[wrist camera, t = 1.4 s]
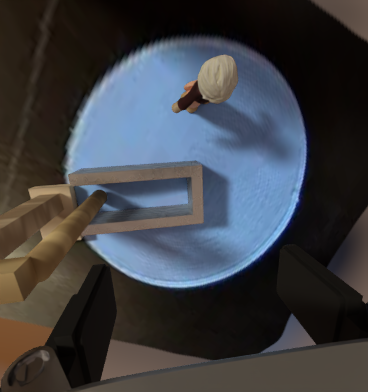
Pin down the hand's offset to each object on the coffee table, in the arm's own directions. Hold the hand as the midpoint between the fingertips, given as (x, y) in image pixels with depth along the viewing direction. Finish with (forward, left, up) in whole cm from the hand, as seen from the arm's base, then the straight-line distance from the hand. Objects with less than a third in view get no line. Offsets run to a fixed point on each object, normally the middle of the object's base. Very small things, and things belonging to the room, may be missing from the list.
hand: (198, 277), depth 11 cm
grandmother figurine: (-12, +4, -21) cm, 24 cm away
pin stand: (+3, -14, -21) cm, 25 cm away
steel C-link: (+1, -4, -21) cm, 21 cm away
